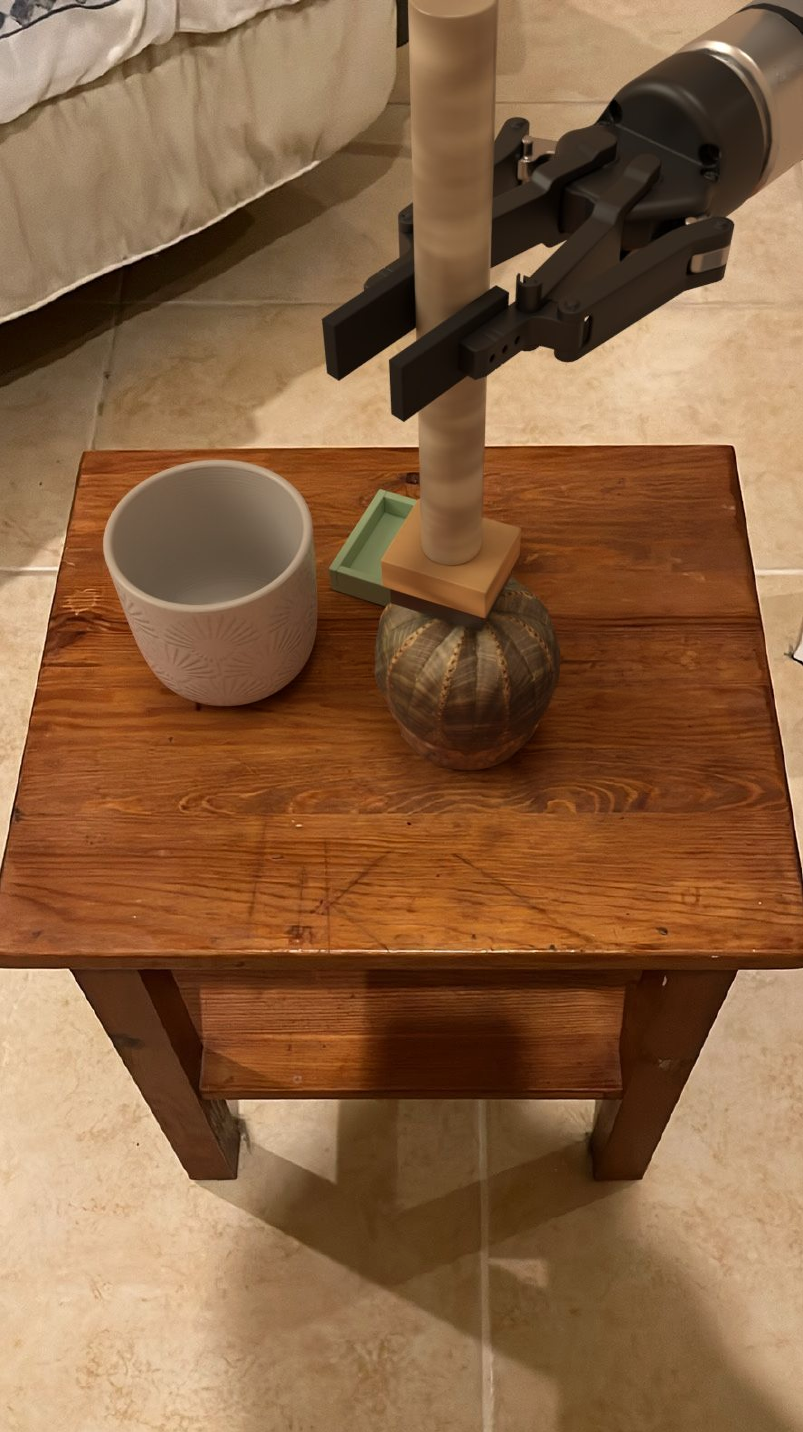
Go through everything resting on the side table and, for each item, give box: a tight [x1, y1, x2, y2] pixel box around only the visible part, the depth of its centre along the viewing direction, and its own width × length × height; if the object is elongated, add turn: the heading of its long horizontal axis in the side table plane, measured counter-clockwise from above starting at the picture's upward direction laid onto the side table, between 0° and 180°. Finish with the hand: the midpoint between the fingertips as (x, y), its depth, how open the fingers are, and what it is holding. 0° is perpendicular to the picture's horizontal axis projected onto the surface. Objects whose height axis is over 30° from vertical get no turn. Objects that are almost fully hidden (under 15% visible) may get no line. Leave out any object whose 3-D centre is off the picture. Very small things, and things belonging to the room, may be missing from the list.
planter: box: [102, 459, 319, 707], centre depth 80 cm, size 12×12×11 cm
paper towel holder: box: [381, 0, 522, 632], centre depth 58 cm, size 6×5×30 cm
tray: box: [328, 488, 418, 607], centre depth 88 cm, size 10×8×2 cm
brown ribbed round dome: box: [373, 575, 562, 771], centre depth 76 cm, size 11×11×12 cm
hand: (363, 370), depth 54 cm, fingers closed on paper towel holder, 3 cm apart
